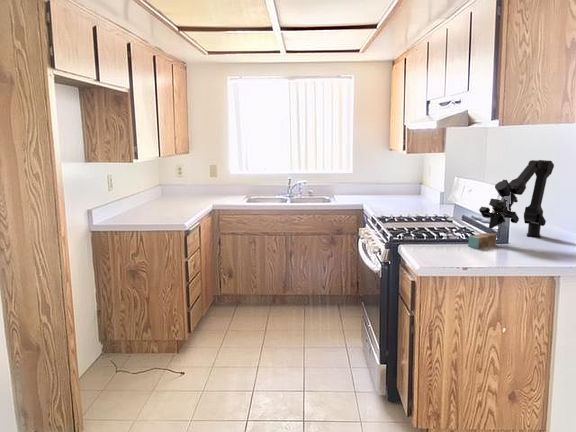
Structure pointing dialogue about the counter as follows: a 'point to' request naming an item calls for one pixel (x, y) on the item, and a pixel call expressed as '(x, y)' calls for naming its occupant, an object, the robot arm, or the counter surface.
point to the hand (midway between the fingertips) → (489, 228)
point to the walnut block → (482, 240)
